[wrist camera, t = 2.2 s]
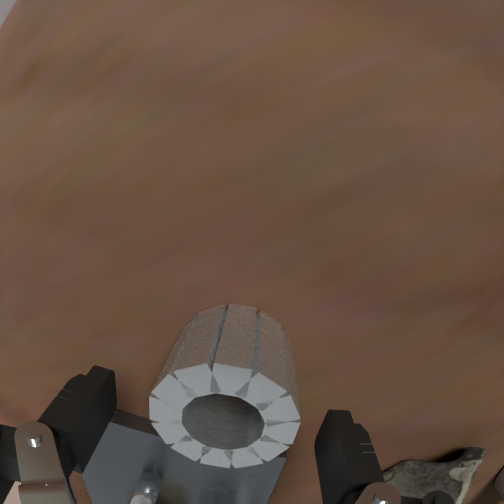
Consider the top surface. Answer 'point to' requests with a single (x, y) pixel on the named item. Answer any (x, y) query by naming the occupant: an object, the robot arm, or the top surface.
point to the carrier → (167, 471)
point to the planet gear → (228, 389)
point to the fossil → (436, 476)
